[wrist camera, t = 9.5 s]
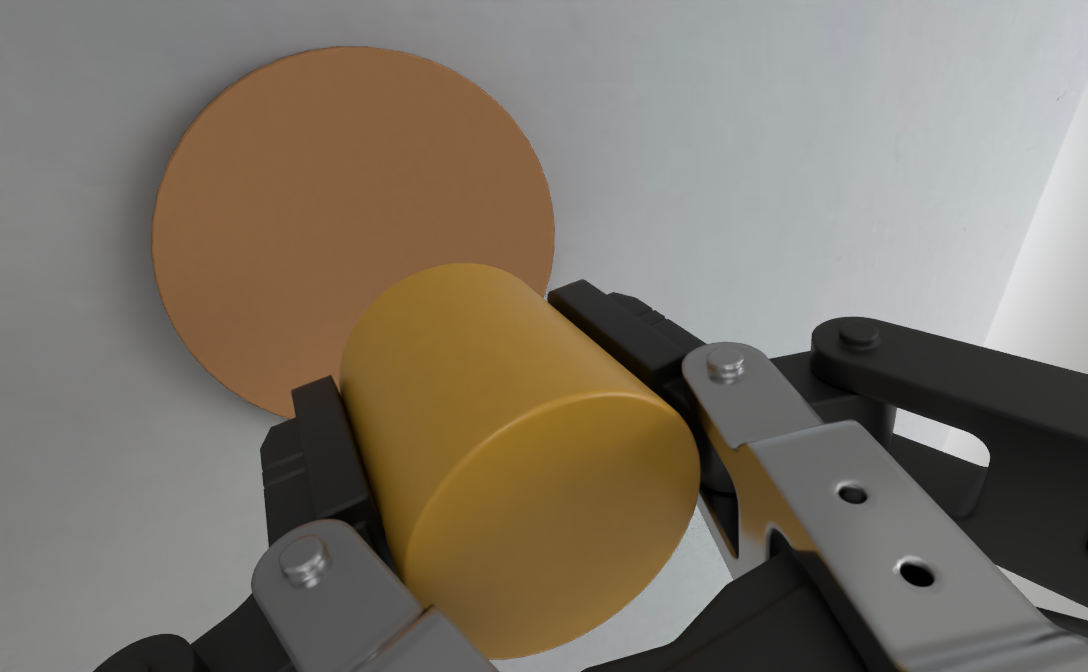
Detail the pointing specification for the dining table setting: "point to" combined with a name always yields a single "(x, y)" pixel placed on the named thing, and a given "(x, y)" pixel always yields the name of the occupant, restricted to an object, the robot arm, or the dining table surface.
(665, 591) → the dining table surface
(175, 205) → the coaster
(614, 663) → the robot arm
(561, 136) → the dining table surface
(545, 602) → the orange cylinder
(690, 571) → the dining table surface
